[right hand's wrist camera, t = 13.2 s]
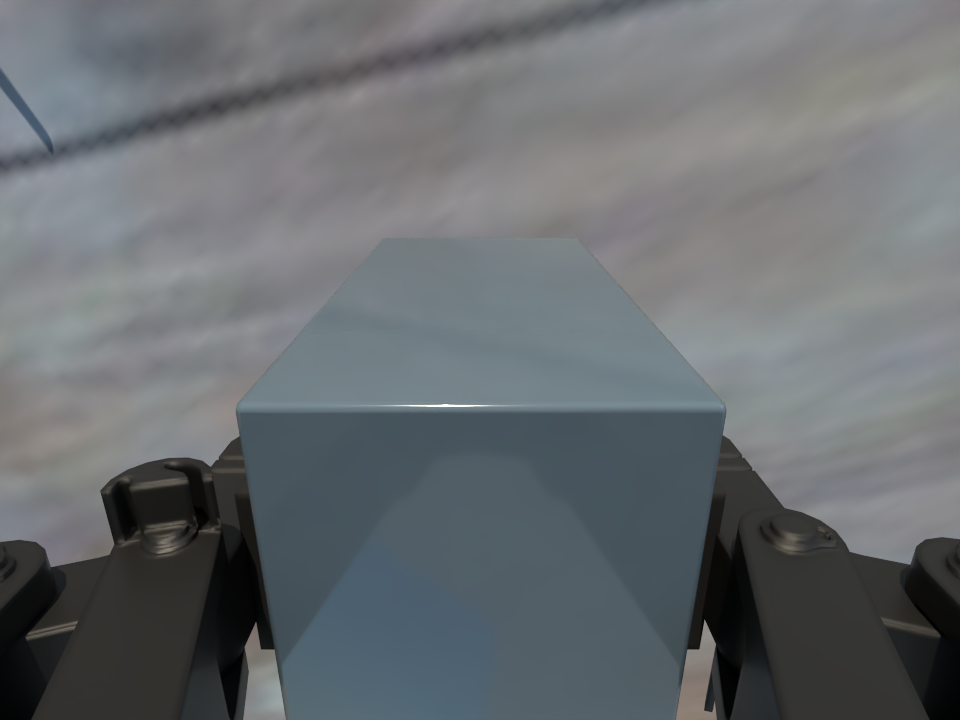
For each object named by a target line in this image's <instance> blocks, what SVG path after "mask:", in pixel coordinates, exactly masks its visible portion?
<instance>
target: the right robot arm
mask: <svg viewBox="0 0 960 720" xmlns="http://www.w3.org/2000/svg"><path fill="white" fill-rule="evenodd" d="M100 492H101V495H102V499H103V503H104V507H105V510H106V514H107V518H108V521H109V525H110V529H111V533H112V536H113V540H114V544H115V545H114V547H113V549H112V551H111V553H110V555H107V556H104V557H100V558H95V559H90V560H85V561H80V562H75V563H70V564H65V565H60V566H55V567H51V566H50V563H49V560H48V557H47V554H46V551H45V549H44V548H43V547H41V546H40V545H39V544H37V543H36V542H31V541H23V540H15V541H6V542H0V720H243V716H244V707H245V699H246V690H247V682H248V673H249V671H248V664H247V658H246V652H245V645H246V642H247V640H248V638H249V636H250V634H251V631H252V629H253V627H254V625H255V623H257V628H258V634H259V640H260V646H261V649H275V648H274V642H273V636H272V630H271V624H270V618H269V612H268V606H267V599H266V593H265V587H264V581H263V575H262V569H261V563H260V557H259V550H258V544H257V538H256V532H255V526H254V520H253V514H252V508H251V502H250V495H249V489H248V483H247V477H246V471H245V465H244V459H243V453H242V446H241V440H240V436H239V437H238V438H236V439H235V440H233V441H231V442H230V444H229V445H228V446H227V447H226V449H225V450H224V451H223V453H222V454H221V455H220V456H219V460H216V461H215V463H214V464H213V465H212V466H211V467H210V466H208V465H207V464H206V463H204V462H203V461H201V460H196V459H191V458H167V459H162V460H157V461H152V462H147V463H145V464H142V465H139V466H136V467H134V468H131V469H128V470H126V471H125V472H123V473H121V474H120V475H118V476H116V477H115V478H113V479H111V480H110V481H109V482H108V483H107V484H106V485H105V486H104V487H103V488H102V490H101V491H100ZM704 619H705V621H706V623H707V625H708V627H709V630H710V632H711V634H712V636H713V638H714V641H715V643H716V647H715V652H714V658H713V663H712V668H711V674H710V679H709V684H708V690H707V695H706V701H705V708H704V710H705V711H709V712H712V711H713V706H714V701H715V706H716V714H717V720H960V539H952V538H944V537H941V538H933V539H926V540H924V541H923V542H922V543H920V544H919V545H918V546H916V549H915V553H914V556H913V559H912V562H911V565H908V564H903V563H898V562H893V561H888V560H883V559H878V558H873V557H868V556H863V555H859V554H856V553H852V552H849V550H848V548H847V546H846V544H845V542H844V541H843V540H842V538H841V537H840V536H839V535H838V533H837V532H836V531H835V530H833V529H832V528H830V527H829V526H827V525H826V524H825V523H823V522H822V521H820V520H818V519H816V518H813V517H811V516H809V515H806V514H804V513H802V512H798V511H794V510H790V509H785V508H784V507H783V506H782V504H781V503H780V502H779V501H778V499H777V498H776V497H775V496H774V494H773V493H772V492H771V491H770V489H769V488H768V487H767V486H766V484H765V483H764V482H763V481H762V479H761V478H760V477H759V476H758V474H757V473H756V472H755V471H752V467H751V466H750V464H749V463H748V462H747V461H746V459H745V458H742V454H741V453H740V452H739V451H738V449H737V448H736V447H735V446H734V444H733V443H732V442H731V441H730V440H729V439H728V438H726V437H725V436H723V435H722V441H721V447H720V453H719V459H718V465H717V471H716V477H715V484H714V490H713V496H712V502H711V508H710V514H709V520H708V526H707V532H706V538H705V544H704V550H703V556H702V562H701V568H700V575H699V581H698V587H697V593H696V599H695V605H694V611H693V617H692V623H691V629H690V635H689V641H688V647H687V649H699V648H700V642H701V636H702V631H703V625H704Z"/></svg>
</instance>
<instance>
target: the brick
mask: <svg viewBox="0 0 960 720" xmlns="http://www.w3.org/2000/svg"><path fill="white" fill-rule="evenodd" d="M236 416H237V422H238V428H239V434H240V440H241V446H242V453H243V459H244V465H245V471H246V477H247V483H248V489H249V495H250V502H251V508H252V514H253V520H254V526H255V532H256V538H257V544H258V550H259V557H260V563H261V569H262V575H263V581H264V587H265V593H266V599H267V606H268V612H269V618H270V624H271V630H272V636H273V642H274V648H275V655H276V661H277V667H278V673H279V679H280V685H281V691H282V697H283V703H284V710H285V716H286V720H676V714H677V708H678V702H679V696H680V690H681V684H682V678H683V672H684V665H685V659H686V653H687V647H688V641H689V635H690V629H691V623H692V617H693V611H694V605H695V599H696V593H697V587H698V581H699V575H700V568H701V562H702V556H703V550H704V544H705V538H706V532H707V526H708V520H709V514H710V508H711V502H712V496H713V490H714V484H715V477H716V471H717V465H718V459H719V453H720V447H721V441H722V435H723V429H724V423H725V417H726V406H725V403H724V402H723V401H722V400H721V399H720V398H719V397H718V395H717V394H716V393H715V392H714V391H713V390H712V389H711V388H710V386H709V385H708V384H707V383H706V382H705V381H704V380H703V379H702V377H701V376H700V375H699V374H698V373H697V372H696V371H695V370H694V368H693V367H692V366H691V365H690V364H689V363H688V362H687V361H686V359H685V358H684V357H683V356H682V355H681V354H680V353H679V352H678V350H677V349H676V348H675V347H674V346H673V345H672V344H671V343H670V341H669V340H668V339H667V338H666V337H665V336H664V335H663V334H662V332H661V331H660V330H659V329H658V328H657V327H656V326H655V325H654V323H653V322H652V321H651V320H650V319H649V318H648V317H647V316H646V314H645V313H644V312H643V311H642V310H641V309H640V308H639V307H638V305H637V304H636V303H635V302H634V301H633V300H632V299H631V298H630V297H629V295H628V294H627V293H626V292H625V291H624V290H623V289H622V288H621V286H620V285H619V284H618V283H617V282H616V281H615V280H614V279H613V277H612V276H611V275H610V274H609V273H608V272H607V271H606V270H605V268H604V267H603V266H602V265H601V264H600V263H599V262H598V261H597V259H596V258H595V257H594V256H593V255H592V254H591V253H590V252H589V250H588V249H587V248H586V247H585V246H584V245H583V244H582V243H581V241H580V240H579V239H577V238H384V239H382V240H381V241H380V242H379V244H378V245H377V246H376V247H375V248H374V249H373V250H372V252H371V253H370V254H369V255H368V256H367V257H366V258H365V259H364V261H363V262H362V263H361V264H360V265H359V266H358V267H357V269H356V270H355V271H354V272H353V273H352V274H351V275H350V276H349V278H348V279H347V280H346V281H345V282H344V283H343V284H342V286H341V287H340V288H339V289H338V290H337V291H336V292H335V293H334V295H333V296H332V297H331V298H330V299H329V300H328V301H327V303H326V304H325V305H324V306H323V307H322V308H321V309H320V310H319V312H318V313H317V314H316V315H315V316H314V317H313V318H312V320H311V321H310V322H309V323H308V324H307V325H306V326H305V327H304V329H303V330H302V331H301V332H300V333H299V334H298V335H297V337H296V338H295V339H294V340H293V341H292V342H291V343H290V344H289V346H288V347H287V348H286V349H285V350H284V351H283V352H282V354H281V355H280V356H279V357H278V358H277V359H276V360H275V362H274V363H273V364H272V365H271V366H270V367H269V368H268V369H267V371H266V372H265V373H264V374H263V375H262V376H261V377H260V379H259V380H258V381H257V382H256V383H255V384H254V385H253V386H252V388H251V389H250V390H249V391H248V392H247V393H246V394H245V396H244V397H243V398H242V399H241V400H240V401H239V402H238V403H237V407H236Z"/></svg>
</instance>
